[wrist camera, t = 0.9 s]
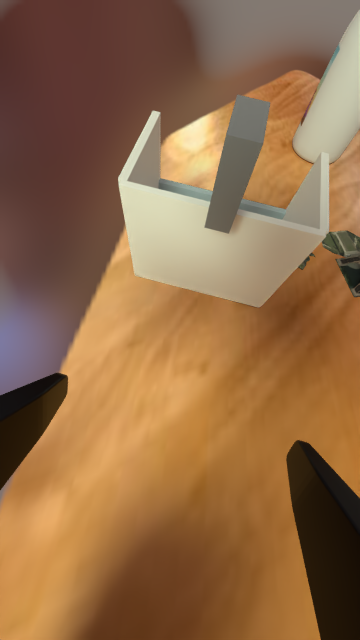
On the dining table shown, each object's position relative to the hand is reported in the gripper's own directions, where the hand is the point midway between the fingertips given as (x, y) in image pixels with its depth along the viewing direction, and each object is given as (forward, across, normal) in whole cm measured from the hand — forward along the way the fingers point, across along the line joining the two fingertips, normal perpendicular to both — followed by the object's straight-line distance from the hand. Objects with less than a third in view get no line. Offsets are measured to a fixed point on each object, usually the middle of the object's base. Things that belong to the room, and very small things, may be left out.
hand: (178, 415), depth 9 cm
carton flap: (+16, 0, 0) cm, 16 cm away
